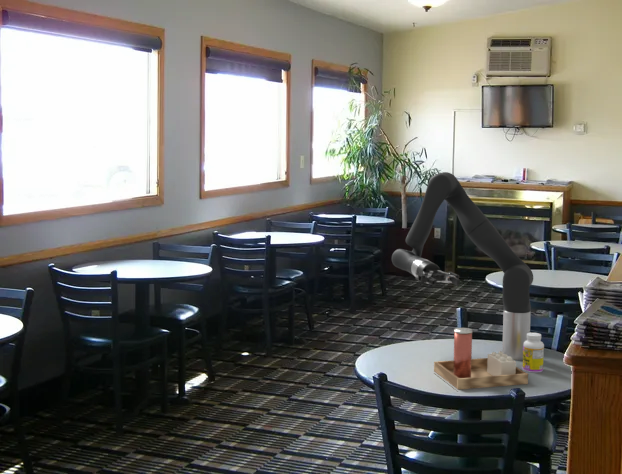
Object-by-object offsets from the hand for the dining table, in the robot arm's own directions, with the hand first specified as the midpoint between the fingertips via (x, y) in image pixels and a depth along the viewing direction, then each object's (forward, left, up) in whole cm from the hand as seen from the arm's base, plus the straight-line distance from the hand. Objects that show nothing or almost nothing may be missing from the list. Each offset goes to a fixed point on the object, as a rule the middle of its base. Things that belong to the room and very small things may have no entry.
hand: (446, 282), depth 271 cm
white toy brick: (-13, +15, -28) cm, 35 cm away
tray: (-6, +15, -29) cm, 33 cm away
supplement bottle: (-27, +11, -29) cm, 41 cm away
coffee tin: (0, +15, -28) cm, 32 cm away
